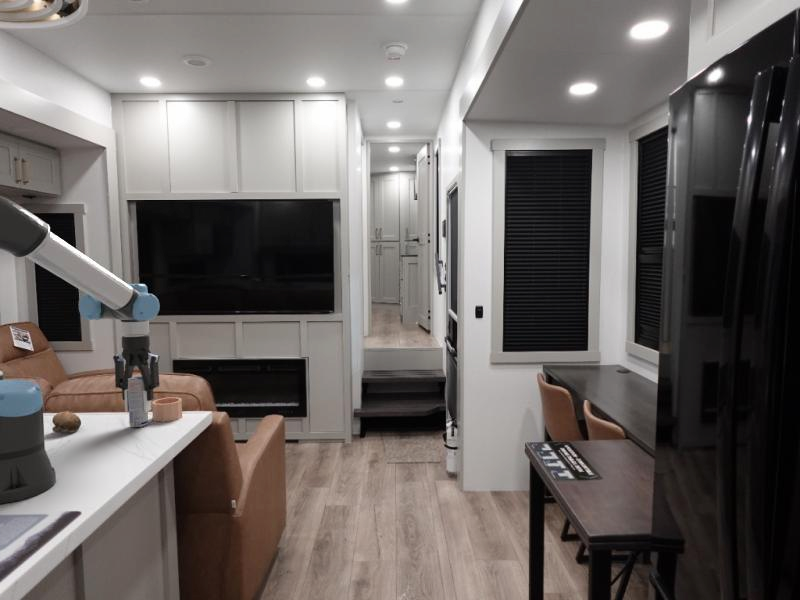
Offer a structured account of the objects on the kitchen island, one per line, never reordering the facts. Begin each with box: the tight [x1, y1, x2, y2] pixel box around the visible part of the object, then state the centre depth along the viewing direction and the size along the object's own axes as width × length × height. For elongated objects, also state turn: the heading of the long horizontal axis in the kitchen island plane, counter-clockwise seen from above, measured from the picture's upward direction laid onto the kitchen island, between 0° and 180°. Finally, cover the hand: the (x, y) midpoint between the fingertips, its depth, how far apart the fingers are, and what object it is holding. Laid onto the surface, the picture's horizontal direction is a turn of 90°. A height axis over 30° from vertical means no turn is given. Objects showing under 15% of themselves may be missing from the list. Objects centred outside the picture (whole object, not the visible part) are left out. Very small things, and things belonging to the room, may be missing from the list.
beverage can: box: [128, 376, 149, 428], centre depth 157 cm, size 5×5×15 cm
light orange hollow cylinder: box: [151, 396, 183, 423], centre depth 166 cm, size 9×9×6 cm
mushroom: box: [52, 410, 82, 434], centre depth 153 cm, size 8×8×6 cm
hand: (138, 410), depth 158 cm, fingers open, 5 cm apart
